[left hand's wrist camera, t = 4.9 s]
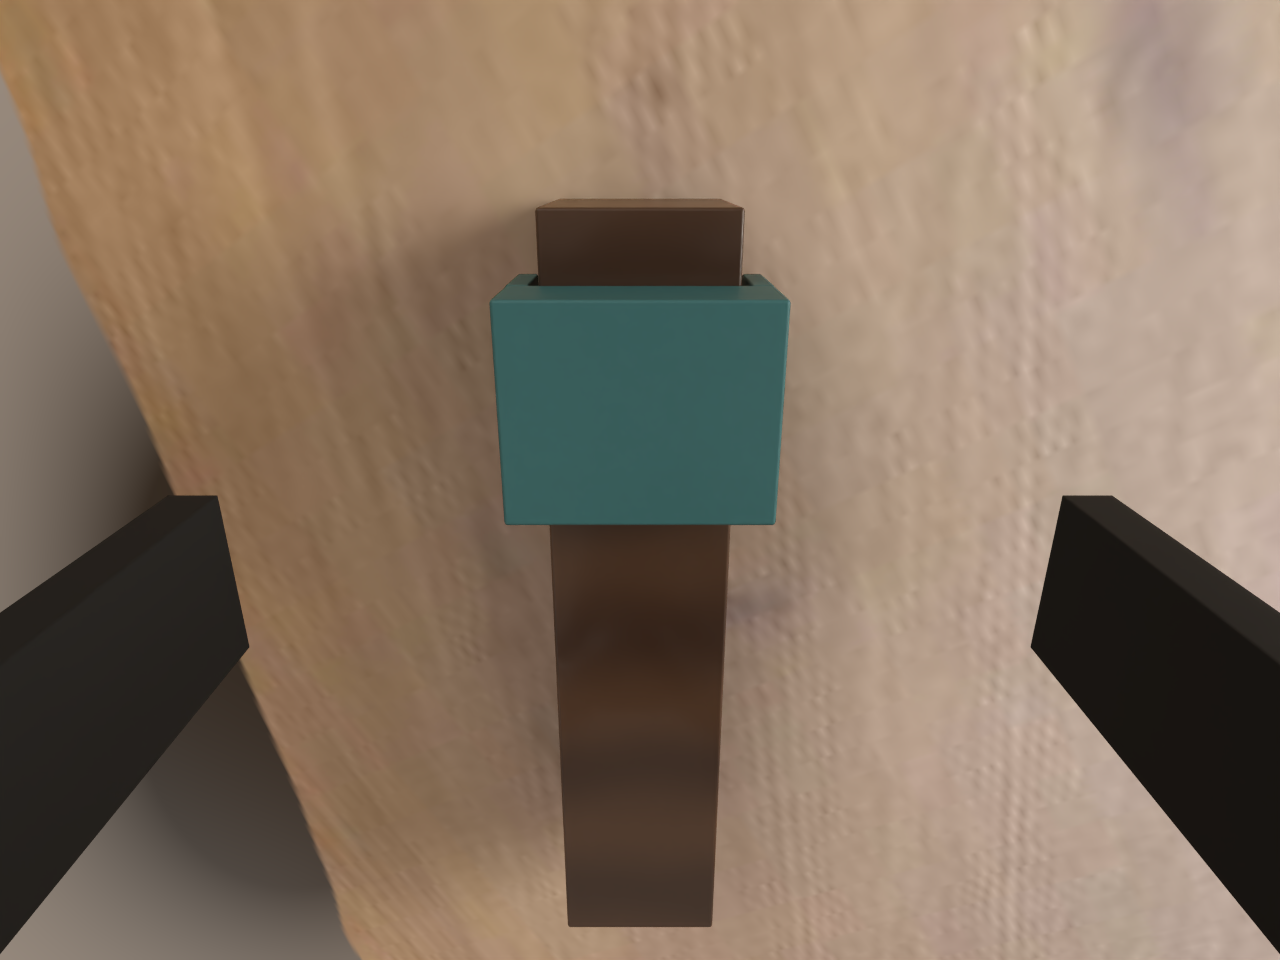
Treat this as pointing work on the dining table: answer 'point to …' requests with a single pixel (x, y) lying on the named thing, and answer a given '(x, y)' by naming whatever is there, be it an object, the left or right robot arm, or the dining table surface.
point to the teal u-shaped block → (639, 402)
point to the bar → (639, 616)
